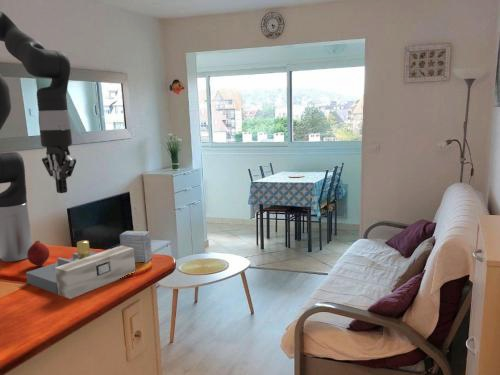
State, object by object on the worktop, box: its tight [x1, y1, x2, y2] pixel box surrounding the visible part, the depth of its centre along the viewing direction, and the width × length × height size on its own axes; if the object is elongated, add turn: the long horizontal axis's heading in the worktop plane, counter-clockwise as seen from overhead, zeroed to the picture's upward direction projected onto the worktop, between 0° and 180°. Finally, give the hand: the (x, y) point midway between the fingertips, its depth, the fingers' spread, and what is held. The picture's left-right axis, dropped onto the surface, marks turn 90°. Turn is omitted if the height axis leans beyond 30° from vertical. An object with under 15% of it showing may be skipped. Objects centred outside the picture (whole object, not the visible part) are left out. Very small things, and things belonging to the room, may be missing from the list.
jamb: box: [55, 245, 136, 300], centre depth 110 cm, size 5×20×7 cm, turn 145°
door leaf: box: [25, 250, 99, 295], centre depth 115 cm, size 14×20×5 cm
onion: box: [27, 239, 50, 267], centre depth 124 cm, size 6×6×8 cm
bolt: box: [73, 239, 109, 274], centre depth 111 cm, size 11×3×7 cm, turn 55°
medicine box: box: [119, 230, 153, 264], centre depth 126 cm, size 8×4×9 cm, turn 78°
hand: (62, 192), depth 114 cm, fingers closed
